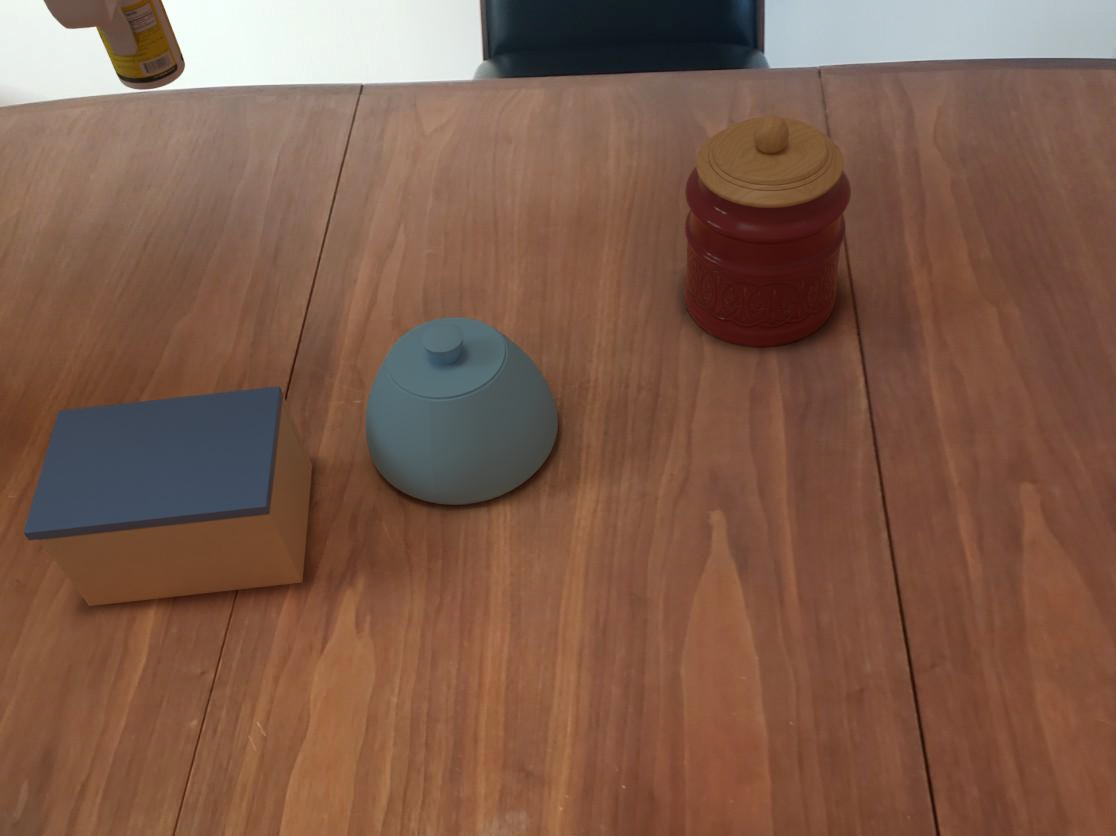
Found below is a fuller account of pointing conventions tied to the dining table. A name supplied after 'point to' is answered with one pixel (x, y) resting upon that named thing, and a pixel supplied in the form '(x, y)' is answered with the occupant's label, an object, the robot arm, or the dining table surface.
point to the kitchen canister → (765, 231)
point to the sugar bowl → (459, 413)
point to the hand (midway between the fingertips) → (134, 29)
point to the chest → (200, 544)
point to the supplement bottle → (148, 47)
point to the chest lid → (158, 463)
